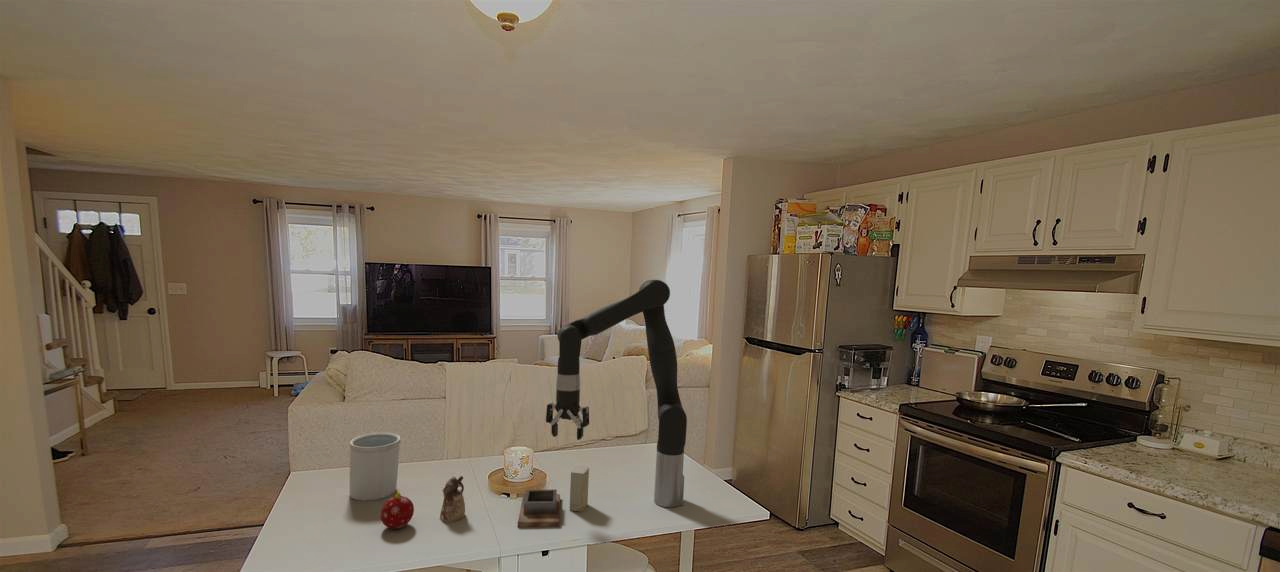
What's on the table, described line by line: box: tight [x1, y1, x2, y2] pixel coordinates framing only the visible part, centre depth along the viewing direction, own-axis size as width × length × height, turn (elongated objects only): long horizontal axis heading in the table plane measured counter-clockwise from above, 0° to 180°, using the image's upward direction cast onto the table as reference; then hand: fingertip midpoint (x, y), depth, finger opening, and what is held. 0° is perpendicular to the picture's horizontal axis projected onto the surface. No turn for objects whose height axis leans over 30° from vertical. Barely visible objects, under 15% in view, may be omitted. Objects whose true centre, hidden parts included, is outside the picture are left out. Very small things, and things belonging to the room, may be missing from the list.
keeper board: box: [517, 493, 561, 528], centre depth 158 cm, size 12×19×2 cm, turn 8°
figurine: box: [439, 475, 466, 523], centre depth 152 cm, size 7×7×12 cm
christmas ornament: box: [380, 491, 415, 530], centre depth 145 cm, size 9×9×10 cm
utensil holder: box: [349, 432, 402, 502], centre depth 166 cm, size 15×15×18 cm
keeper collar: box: [523, 489, 558, 515], centre depth 158 cm, size 10×10×4 cm
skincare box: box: [569, 465, 590, 512], centre depth 163 cm, size 6×4×12 cm
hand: (567, 437), depth 162 cm, fingers open, 8 cm apart
